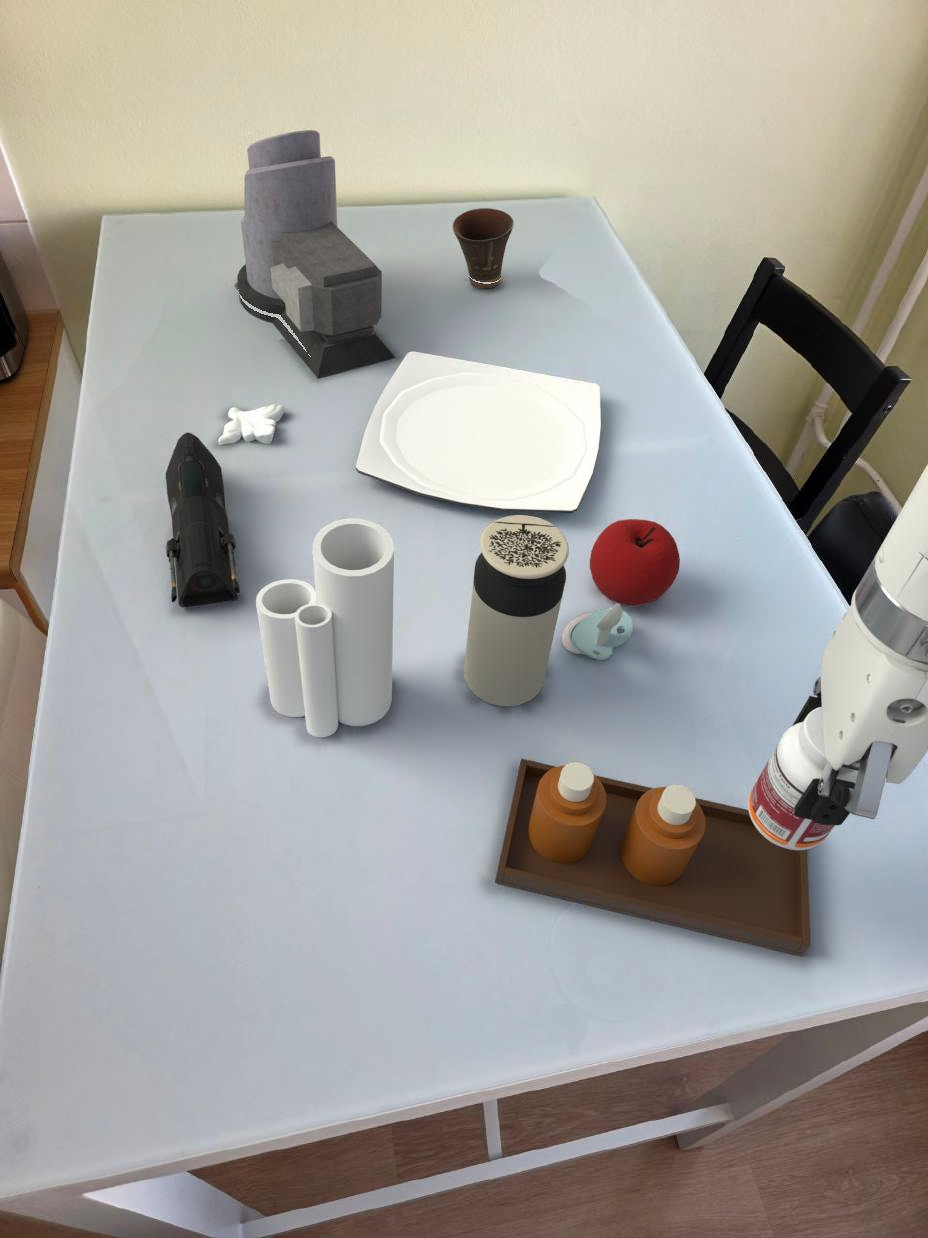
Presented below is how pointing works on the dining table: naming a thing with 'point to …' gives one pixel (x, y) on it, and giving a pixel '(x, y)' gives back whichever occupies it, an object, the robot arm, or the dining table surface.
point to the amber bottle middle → (662, 834)
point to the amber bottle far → (566, 812)
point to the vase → (333, 631)
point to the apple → (634, 561)
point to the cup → (483, 243)
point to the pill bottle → (792, 786)
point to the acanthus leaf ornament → (252, 424)
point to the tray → (698, 900)
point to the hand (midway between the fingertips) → (815, 774)
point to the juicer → (307, 258)
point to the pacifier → (597, 632)
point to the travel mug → (514, 608)
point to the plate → (484, 435)
